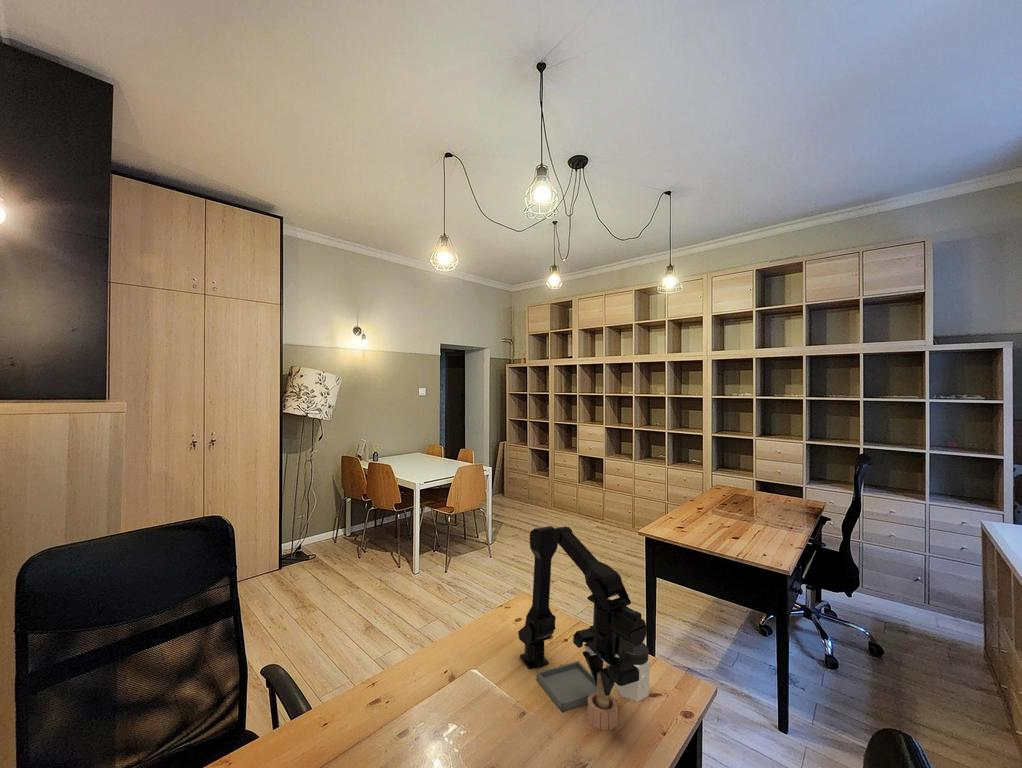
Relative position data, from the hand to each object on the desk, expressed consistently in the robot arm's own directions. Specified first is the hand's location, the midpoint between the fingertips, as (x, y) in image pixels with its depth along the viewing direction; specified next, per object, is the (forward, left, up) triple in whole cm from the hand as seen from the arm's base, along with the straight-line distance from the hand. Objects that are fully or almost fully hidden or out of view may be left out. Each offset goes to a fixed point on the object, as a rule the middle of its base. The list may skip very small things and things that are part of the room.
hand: (603, 690), depth 100 cm
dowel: (0, 0, -6) cm, 6 cm away
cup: (0, 0, -7) cm, 7 cm away
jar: (-5, +14, -7) cm, 17 cm away
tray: (-12, -1, -7) cm, 14 cm away
